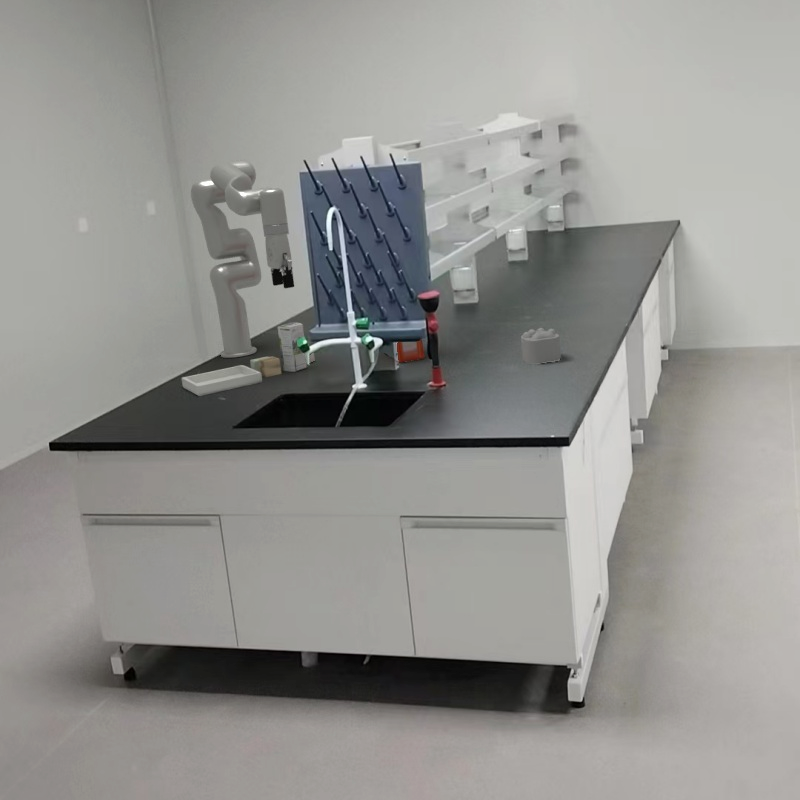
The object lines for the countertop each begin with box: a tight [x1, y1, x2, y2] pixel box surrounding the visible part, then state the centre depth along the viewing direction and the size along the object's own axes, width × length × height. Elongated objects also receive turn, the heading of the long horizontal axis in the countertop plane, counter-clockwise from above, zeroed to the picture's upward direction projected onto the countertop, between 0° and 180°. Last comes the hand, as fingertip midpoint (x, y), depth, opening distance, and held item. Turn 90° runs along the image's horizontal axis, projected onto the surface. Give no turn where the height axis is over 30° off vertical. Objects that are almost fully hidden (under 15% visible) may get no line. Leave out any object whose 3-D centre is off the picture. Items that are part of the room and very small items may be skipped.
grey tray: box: [181, 364, 263, 397], centre depth 314 cm, size 16×20×3 cm
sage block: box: [250, 356, 269, 372], centre depth 327 cm, size 4×6×4 cm, turn 118°
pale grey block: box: [309, 352, 316, 364], centre depth 333 cm, size 5×5×6 cm
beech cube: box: [258, 355, 282, 378], centre depth 321 cm, size 5×5×5 cm
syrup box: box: [277, 322, 309, 373], centre depth 322 cm, size 6×6×14 cm
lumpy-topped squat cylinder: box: [520, 327, 562, 364], centre depth 303 cm, size 10×13×9 cm
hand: (283, 286), depth 316 cm, fingers open, 9 cm apart
